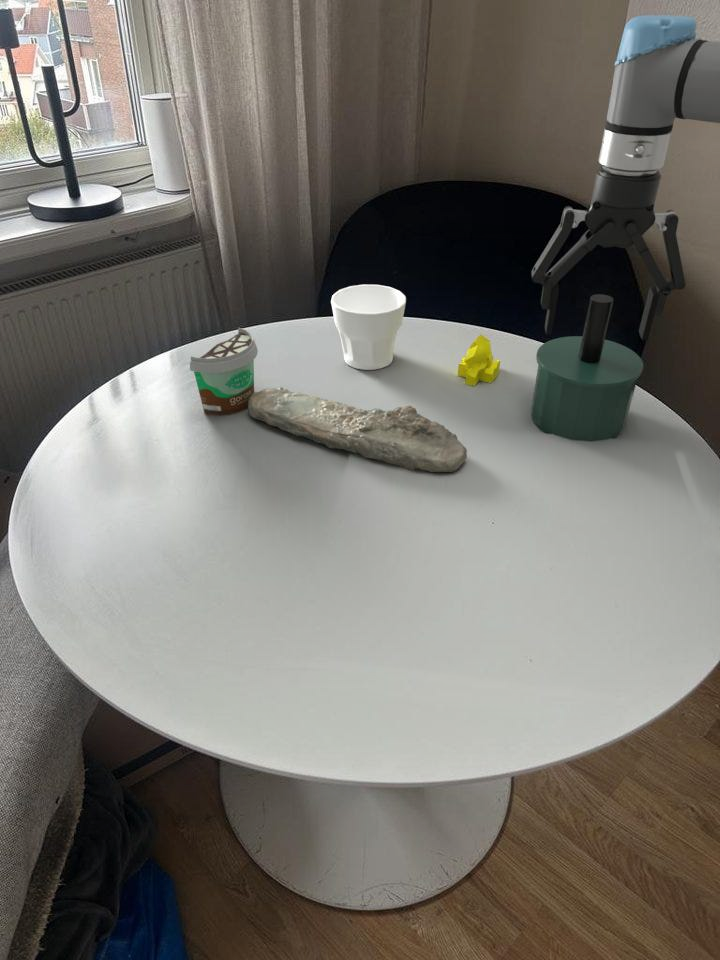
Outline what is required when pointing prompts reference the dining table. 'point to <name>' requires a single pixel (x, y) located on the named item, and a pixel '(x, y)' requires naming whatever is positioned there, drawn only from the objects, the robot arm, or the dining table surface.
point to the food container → (226, 374)
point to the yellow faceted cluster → (479, 363)
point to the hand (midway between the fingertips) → (595, 333)
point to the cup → (368, 323)
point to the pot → (580, 408)
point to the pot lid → (591, 353)
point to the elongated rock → (362, 429)
